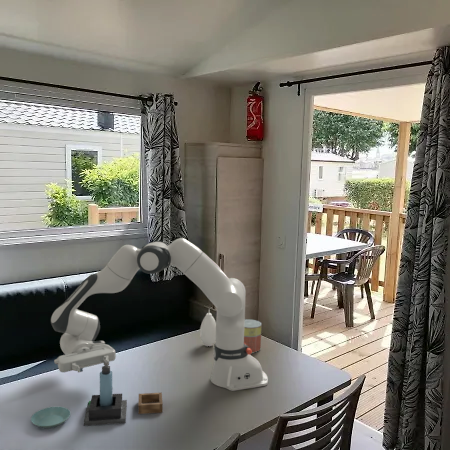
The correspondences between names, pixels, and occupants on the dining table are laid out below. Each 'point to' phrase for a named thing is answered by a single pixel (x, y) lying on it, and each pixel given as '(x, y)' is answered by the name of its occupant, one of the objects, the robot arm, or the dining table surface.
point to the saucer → (50, 417)
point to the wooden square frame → (150, 403)
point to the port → (105, 411)
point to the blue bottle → (105, 386)
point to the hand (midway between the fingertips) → (94, 366)
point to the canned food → (252, 334)
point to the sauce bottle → (208, 330)
